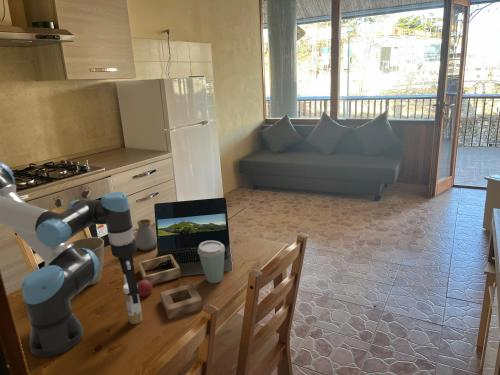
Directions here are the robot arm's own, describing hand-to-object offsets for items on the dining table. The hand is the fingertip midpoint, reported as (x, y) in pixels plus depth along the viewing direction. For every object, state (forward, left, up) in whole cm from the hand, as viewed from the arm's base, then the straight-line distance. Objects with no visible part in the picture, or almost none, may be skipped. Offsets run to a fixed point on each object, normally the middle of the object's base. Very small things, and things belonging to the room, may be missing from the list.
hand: (133, 300), depth 127 cm
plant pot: (-12, +36, -8) cm, 39 cm away
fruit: (+6, +14, -8) cm, 17 cm away
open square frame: (+14, +27, -8) cm, 32 cm away
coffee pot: (+10, +54, -8) cm, 56 cm away
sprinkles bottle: (0, 0, -8) cm, 8 cm away
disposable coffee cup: (+32, +11, -8) cm, 35 cm away
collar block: (+16, +1, -8) cm, 18 cm away
